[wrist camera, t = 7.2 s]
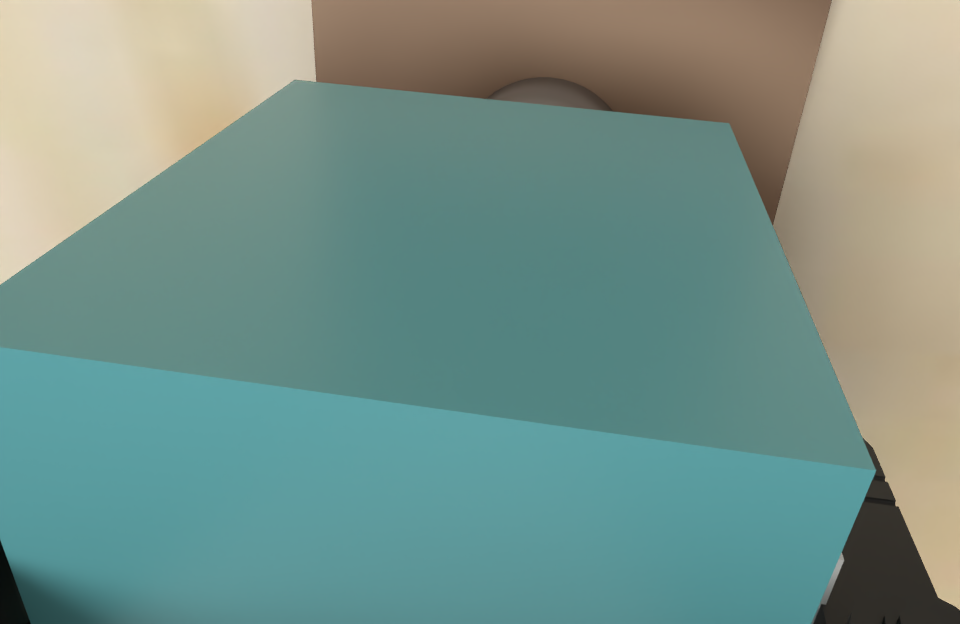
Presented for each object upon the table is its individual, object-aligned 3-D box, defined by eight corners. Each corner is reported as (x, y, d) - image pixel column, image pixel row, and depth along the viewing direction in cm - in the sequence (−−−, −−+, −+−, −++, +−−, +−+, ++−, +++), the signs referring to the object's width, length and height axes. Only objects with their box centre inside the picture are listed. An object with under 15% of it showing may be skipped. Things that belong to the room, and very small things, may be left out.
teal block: (729, 123, 12) (875, 470, 5) (652, 464, 16) (679, 933, 9) (295, 79, 13) (-75, 336, 6) (316, 416, 16) (101, 816, 10)
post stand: (725, 354, 24) (780, 633, 15) (346, 306, 25) (201, 537, 17) (836, -85, 18) (1031, -29, 9) (326, -117, 19) (81, -96, 10)
